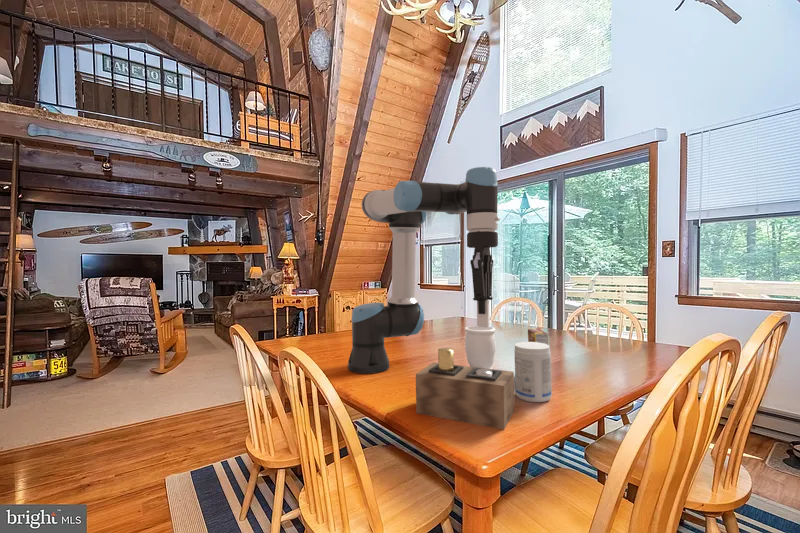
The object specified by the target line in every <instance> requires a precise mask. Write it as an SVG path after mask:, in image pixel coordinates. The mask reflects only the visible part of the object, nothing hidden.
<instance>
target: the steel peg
mask: <svg viewBox="0 0 800 533" xmlns="http://www.w3.org/2000/svg"><path fill="white" fill-rule="evenodd" d="M476 375H480V376H488V377H492V376H493V372H492V371H491V370H488V369H479V370H476Z"/></svg>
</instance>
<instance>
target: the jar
mask: <svg viewBox="0 0 800 533" xmlns="http://www.w3.org/2000/svg"><path fill="white" fill-rule="evenodd" d="M464 331H465V332H466V334H465V340H464V342H465V343H464V345H465V347H464V348H465V353H466V354H465V355H466V359H467V362H468V364H469V367H477V368H486V369H493V365H494V362H495V355H496V349H497V345H496V344H497V343H496V338H495V336H496V335H495V332H496V328H495V327H491V326H489V327H477V325H472V326H471V325H470V326H465V327H464Z"/></svg>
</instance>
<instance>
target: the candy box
mask: <svg viewBox="0 0 800 533" xmlns="http://www.w3.org/2000/svg"><path fill="white" fill-rule="evenodd" d="M527 342H539V343H544V344H547V345H549V333H547V332H545V331H544V330H542V329H540V328H527Z"/></svg>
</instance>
